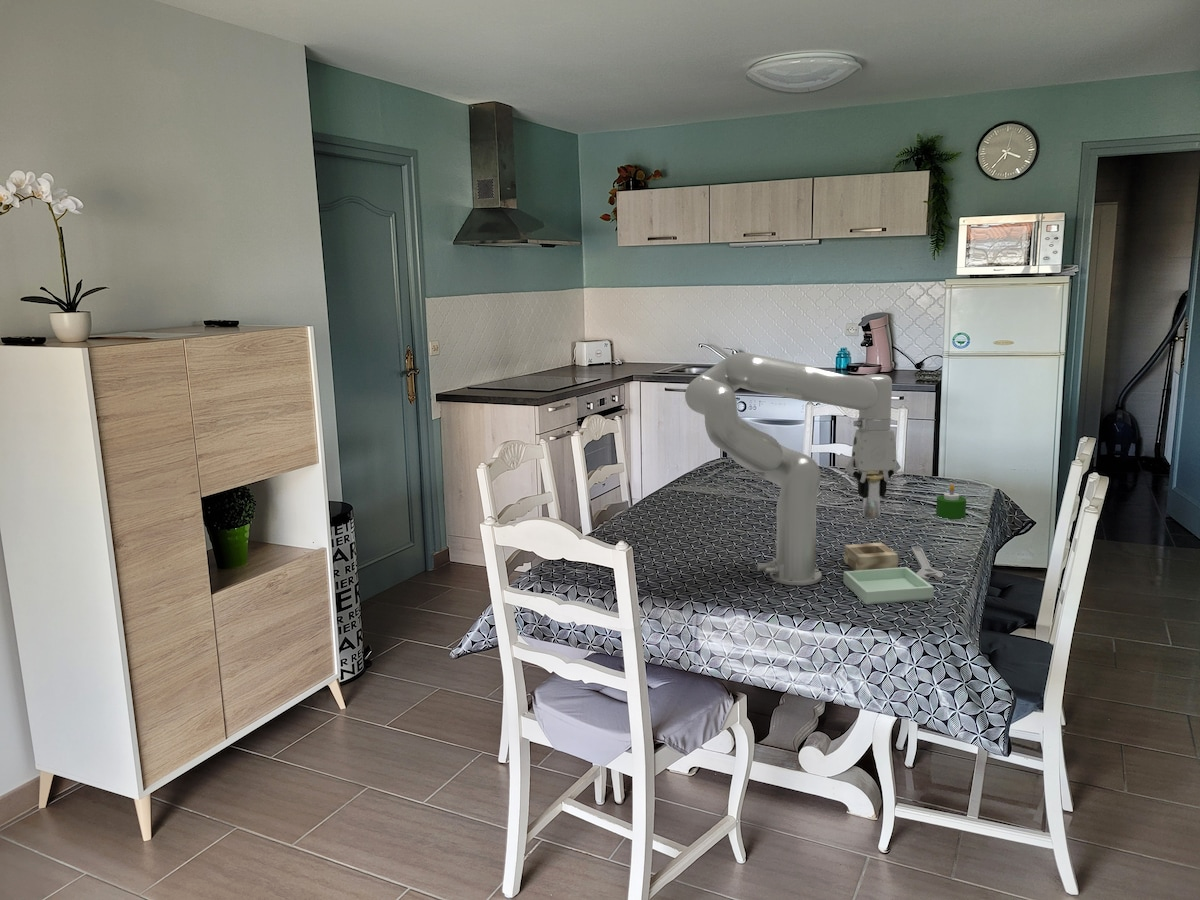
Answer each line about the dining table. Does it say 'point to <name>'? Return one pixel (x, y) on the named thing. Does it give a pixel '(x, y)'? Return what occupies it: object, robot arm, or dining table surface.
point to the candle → (951, 505)
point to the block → (870, 556)
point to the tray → (888, 585)
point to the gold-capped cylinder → (872, 494)
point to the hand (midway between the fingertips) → (871, 495)
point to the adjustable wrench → (925, 566)
